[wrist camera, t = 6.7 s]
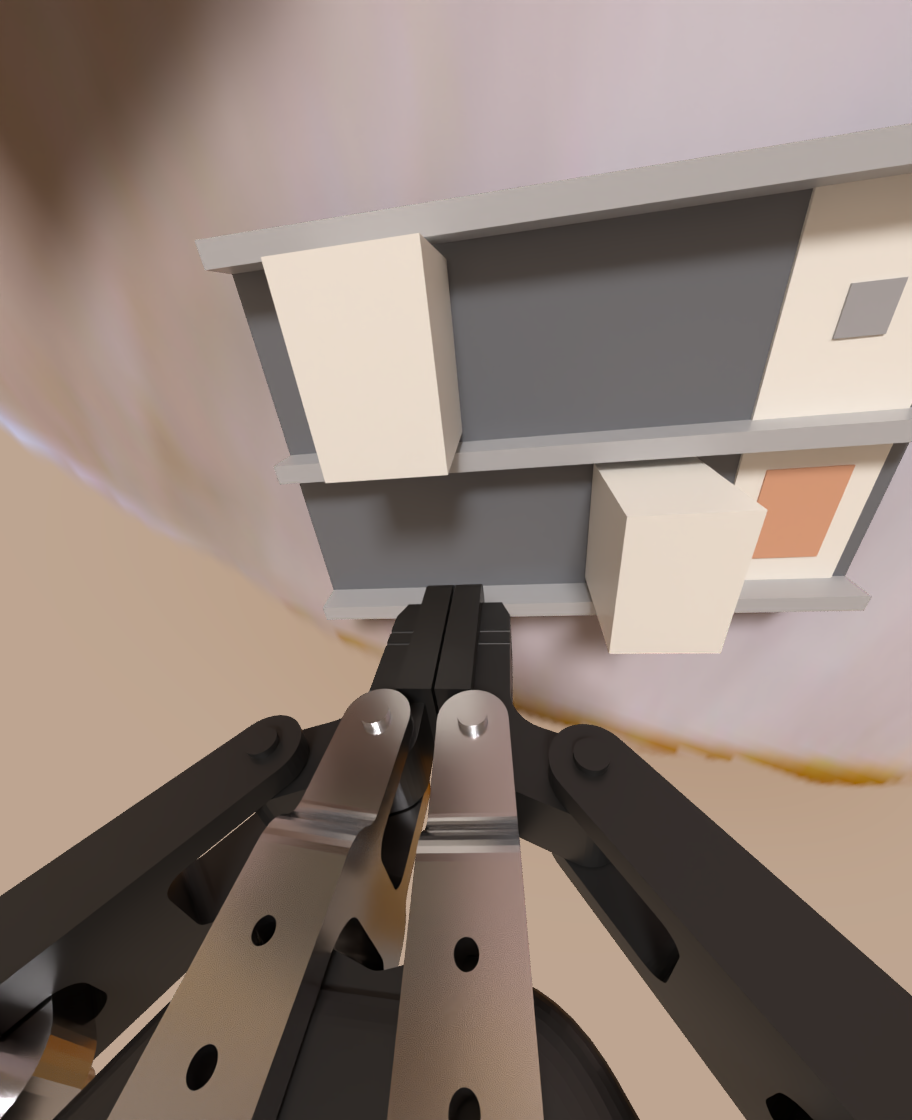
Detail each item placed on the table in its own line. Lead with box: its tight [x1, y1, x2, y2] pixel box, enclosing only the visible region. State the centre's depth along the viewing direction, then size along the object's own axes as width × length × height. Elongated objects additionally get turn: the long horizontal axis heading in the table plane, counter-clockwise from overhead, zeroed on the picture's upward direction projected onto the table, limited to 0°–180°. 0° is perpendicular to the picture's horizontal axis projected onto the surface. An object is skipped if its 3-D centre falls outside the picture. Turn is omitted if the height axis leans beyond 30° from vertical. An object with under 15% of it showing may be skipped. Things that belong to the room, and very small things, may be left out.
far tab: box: [585, 457, 768, 654], centre depth 12 cm, size 3×4×4 cm
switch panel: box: [195, 123, 912, 620], centre depth 13 cm, size 19×12×3 cm, turn 96°
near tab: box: [261, 233, 462, 483], centre depth 10 cm, size 3×4×4 cm
